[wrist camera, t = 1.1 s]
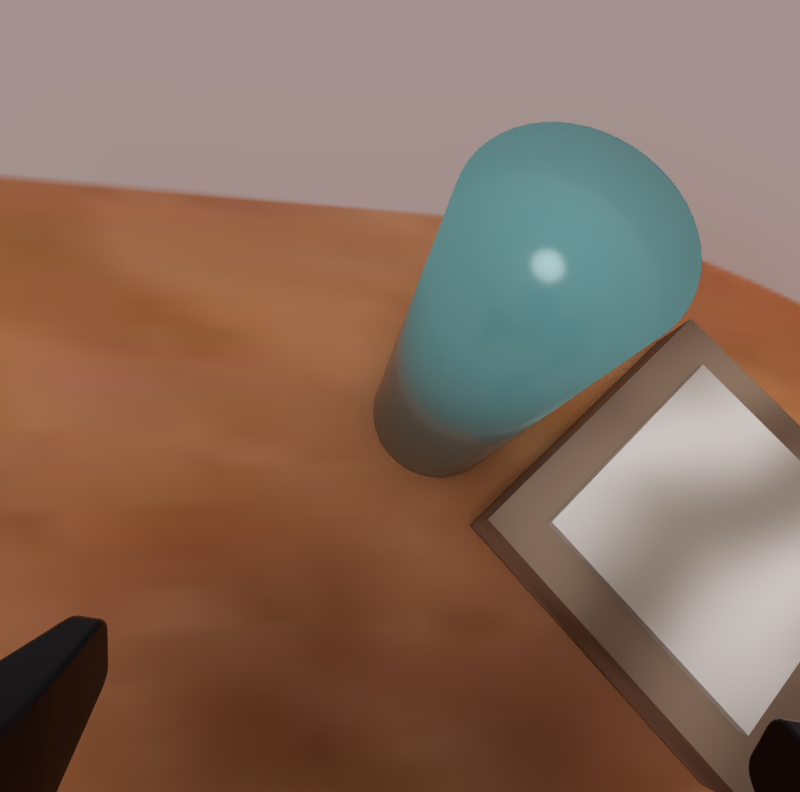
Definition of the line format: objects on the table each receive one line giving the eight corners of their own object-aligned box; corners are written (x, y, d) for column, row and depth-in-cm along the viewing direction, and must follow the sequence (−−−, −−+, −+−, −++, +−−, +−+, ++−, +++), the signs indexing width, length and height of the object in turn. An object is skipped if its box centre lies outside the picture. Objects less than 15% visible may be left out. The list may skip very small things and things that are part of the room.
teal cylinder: (521, 421, 24) (749, 252, 12) (433, 504, 22) (589, 408, 10) (438, 332, 25) (571, 83, 12) (347, 406, 23) (395, 205, 11)
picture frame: (867, 549, 25) (932, 546, 22) (702, 784, 21) (758, 813, 18) (658, 340, 26) (697, 314, 24) (469, 525, 22) (491, 518, 20)
